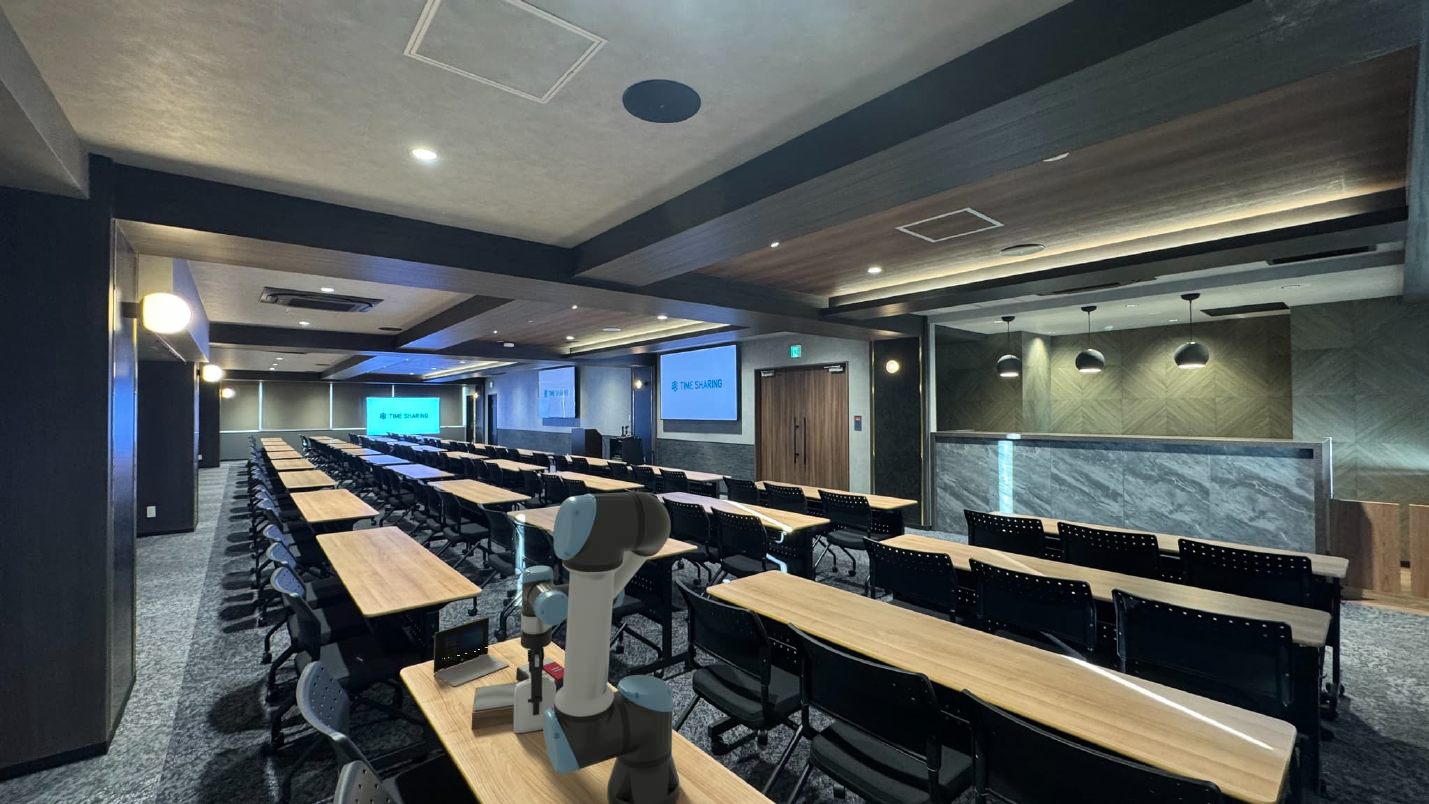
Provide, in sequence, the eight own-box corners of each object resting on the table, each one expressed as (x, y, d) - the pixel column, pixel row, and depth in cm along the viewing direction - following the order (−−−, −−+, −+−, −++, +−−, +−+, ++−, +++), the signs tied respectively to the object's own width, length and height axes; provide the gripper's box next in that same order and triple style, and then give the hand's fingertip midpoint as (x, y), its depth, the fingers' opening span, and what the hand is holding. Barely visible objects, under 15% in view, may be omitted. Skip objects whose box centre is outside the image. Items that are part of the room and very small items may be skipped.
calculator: (539, 685, 158) (516, 665, 169) (539, 700, 158) (515, 679, 169) (574, 673, 166) (549, 654, 177) (573, 688, 166) (549, 668, 177)
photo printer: (512, 735, 139) (514, 685, 139) (513, 726, 143) (514, 677, 143) (555, 729, 142) (557, 679, 143) (554, 720, 146) (556, 672, 147)
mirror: (529, 720, 146) (530, 703, 146) (471, 729, 142) (472, 712, 142) (528, 694, 159) (529, 679, 160) (475, 702, 155) (475, 686, 155)
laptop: (454, 688, 163) (455, 643, 163) (432, 676, 170) (434, 632, 171) (509, 667, 177) (510, 625, 178) (487, 656, 185) (488, 616, 185)
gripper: (555, 647, 133) (552, 736, 133) (549, 609, 156) (547, 685, 156) (521, 651, 130) (519, 742, 130) (520, 612, 154) (518, 689, 154)
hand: (534, 711), depth 143 cm, fingers open, 13 cm apart
